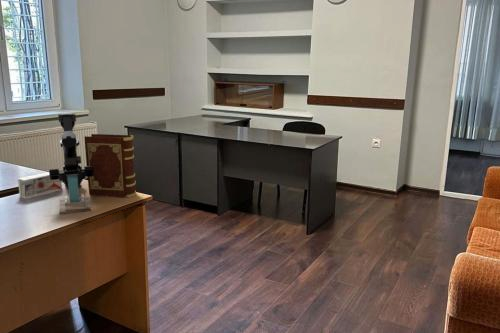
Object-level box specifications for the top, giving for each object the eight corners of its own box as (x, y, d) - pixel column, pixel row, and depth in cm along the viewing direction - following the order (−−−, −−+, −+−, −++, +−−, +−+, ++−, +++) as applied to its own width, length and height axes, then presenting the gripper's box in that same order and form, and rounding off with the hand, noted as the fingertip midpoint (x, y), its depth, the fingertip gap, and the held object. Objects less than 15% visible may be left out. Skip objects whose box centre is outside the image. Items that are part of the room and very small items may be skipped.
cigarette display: (25, 199, 201) (23, 180, 199) (19, 196, 204) (17, 178, 202) (64, 189, 217) (62, 172, 215) (58, 187, 220) (56, 170, 218)
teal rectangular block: (69, 200, 193) (67, 175, 190) (79, 199, 194) (76, 174, 191) (70, 204, 187) (67, 178, 184) (79, 203, 189) (77, 178, 186)
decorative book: (138, 193, 213) (135, 135, 205) (132, 197, 205) (129, 137, 198) (96, 191, 215) (91, 133, 207) (88, 195, 207) (83, 136, 200)
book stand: (59, 201, 198) (58, 193, 197) (88, 198, 203) (88, 190, 202) (59, 214, 181) (58, 205, 180) (91, 210, 186) (90, 202, 185)
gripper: (47, 151, 185) (48, 182, 178) (91, 148, 192) (95, 177, 185) (49, 164, 194) (51, 194, 187) (92, 161, 201) (95, 189, 194)
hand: (73, 188), depth 188 cm, fingers open, 4 cm apart
